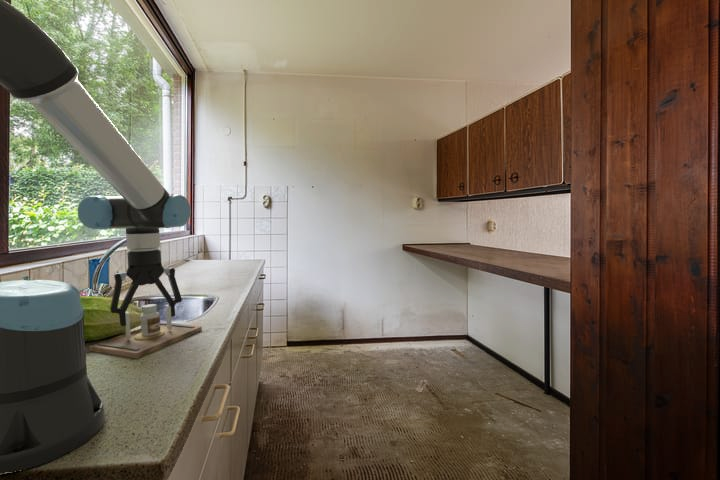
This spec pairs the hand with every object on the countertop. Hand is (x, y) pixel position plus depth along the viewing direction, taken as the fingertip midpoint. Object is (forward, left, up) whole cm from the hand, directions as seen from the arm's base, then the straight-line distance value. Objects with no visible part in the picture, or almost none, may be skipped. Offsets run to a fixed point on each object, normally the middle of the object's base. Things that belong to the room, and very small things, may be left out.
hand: (149, 332), depth 91 cm
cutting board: (0, 0, -2) cm, 2 cm away
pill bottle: (+1, 0, -1) cm, 1 cm away
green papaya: (-2, +15, -2) cm, 15 cm away
